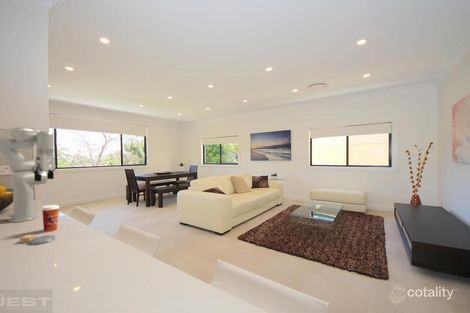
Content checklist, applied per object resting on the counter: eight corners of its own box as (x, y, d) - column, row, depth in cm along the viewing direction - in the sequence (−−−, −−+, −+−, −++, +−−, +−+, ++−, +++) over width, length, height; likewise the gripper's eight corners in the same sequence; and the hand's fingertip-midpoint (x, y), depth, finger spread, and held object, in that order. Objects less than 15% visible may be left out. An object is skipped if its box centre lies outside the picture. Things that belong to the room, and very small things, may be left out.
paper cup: (50, 232, 116) (51, 208, 116) (37, 232, 116) (37, 207, 116) (62, 227, 124) (63, 204, 124) (50, 227, 124) (50, 204, 124)
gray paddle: (59, 236, 112) (59, 232, 111) (45, 244, 102) (45, 239, 102) (31, 237, 110) (32, 232, 110) (14, 245, 100) (14, 240, 100)
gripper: (40, 152, 117) (39, 182, 117) (61, 152, 134) (61, 178, 134) (25, 151, 116) (24, 181, 116) (48, 151, 133) (48, 178, 133)
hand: (44, 179), depth 125 cm, fingers open, 9 cm apart
